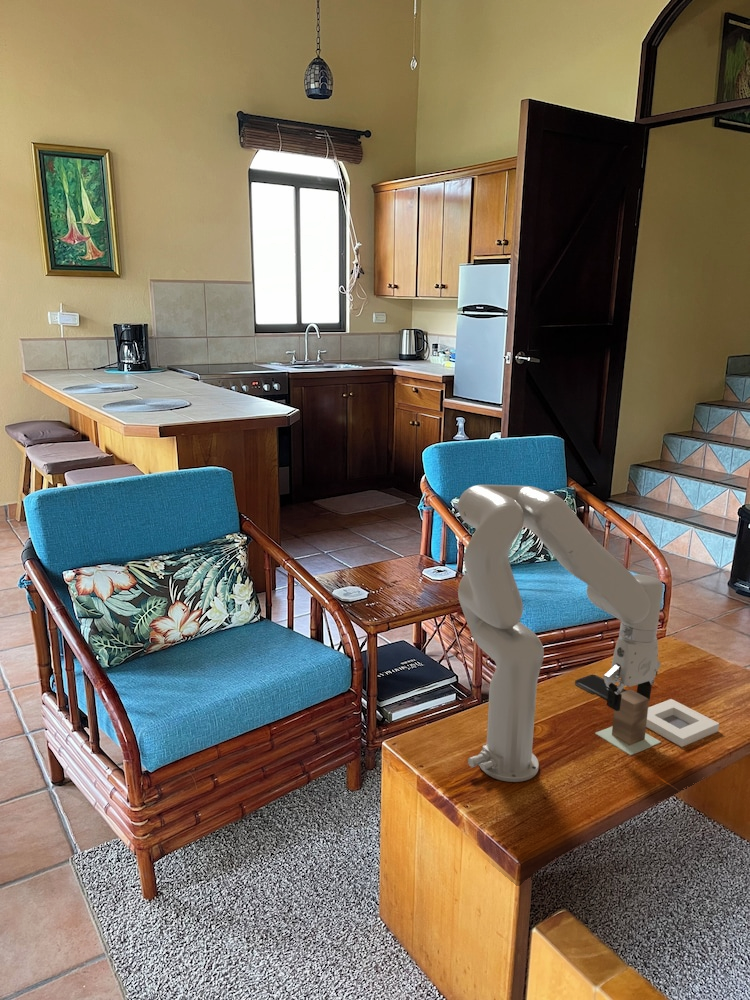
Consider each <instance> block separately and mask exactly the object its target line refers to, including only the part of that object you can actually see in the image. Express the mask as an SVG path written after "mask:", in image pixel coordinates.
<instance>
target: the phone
mask: <svg viewBox="0 0 750 1000" xmlns="http://www.w3.org/2000/svg"><path fill="white" fill-rule="evenodd" d="M574 685H575V686H576V687H578V688H580V689H582V690H583V691H586V692H588V693H590V694H591V695H593V696H594V695H596V696H598V697H600V698H601V699H604V700H605V701H607V697H608V690H607V687H606V686H605V682H604V679H603V677H601V676H599V675H597V674H588V675H586V676H584V677H581V678H579V679H576V680H574ZM615 686H616V687H618V685H617V684H615ZM625 691H628V690H626V689H624V688H623V689H622V690H621V692H620V693H622V692H625Z"/></svg>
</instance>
